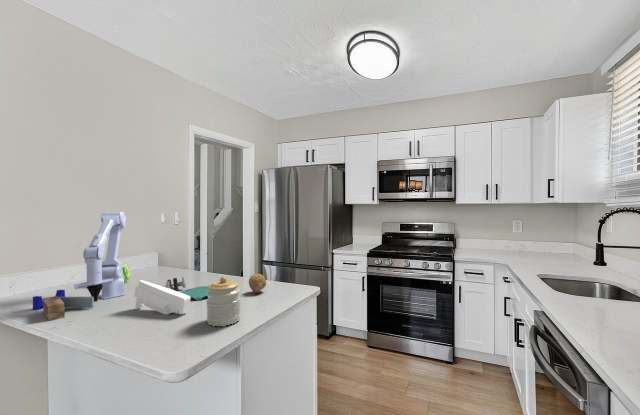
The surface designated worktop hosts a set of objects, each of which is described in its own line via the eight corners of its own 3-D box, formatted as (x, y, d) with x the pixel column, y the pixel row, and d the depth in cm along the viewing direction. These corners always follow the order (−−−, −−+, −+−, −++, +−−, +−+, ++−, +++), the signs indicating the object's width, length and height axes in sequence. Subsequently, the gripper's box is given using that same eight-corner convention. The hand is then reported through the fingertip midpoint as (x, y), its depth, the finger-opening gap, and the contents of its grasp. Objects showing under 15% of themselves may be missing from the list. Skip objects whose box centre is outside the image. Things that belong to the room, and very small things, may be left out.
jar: (221, 330, 110) (221, 282, 110) (199, 323, 117) (198, 278, 117) (247, 318, 121) (247, 275, 121) (226, 312, 128) (225, 271, 128)
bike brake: (189, 287, 166) (167, 289, 175) (188, 275, 166) (165, 277, 175) (166, 294, 154) (144, 295, 163) (165, 281, 154) (142, 283, 163)
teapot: (96, 288, 170) (95, 266, 170) (99, 283, 182) (99, 262, 182) (129, 284, 178) (129, 263, 178) (131, 279, 190) (130, 259, 190)
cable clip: (57, 301, 148) (57, 289, 148) (65, 301, 147) (64, 289, 147) (30, 310, 136) (29, 296, 136) (38, 310, 136) (37, 297, 135)
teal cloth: (170, 298, 151) (170, 293, 151) (216, 284, 177) (216, 280, 177) (197, 304, 142) (197, 299, 142) (242, 288, 168) (241, 283, 168)
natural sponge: (258, 289, 163) (258, 271, 163) (270, 291, 158) (269, 273, 158) (245, 293, 156) (245, 274, 156) (257, 296, 151) (256, 276, 151)
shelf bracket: (142, 307, 138) (146, 278, 137) (188, 325, 130) (193, 295, 129) (130, 311, 133) (134, 282, 132) (177, 331, 124) (182, 299, 123)
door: (62, 306, 138) (62, 296, 138) (95, 306, 137) (94, 296, 137) (58, 308, 136) (58, 297, 136) (92, 307, 136) (92, 297, 136)
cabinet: (58, 309, 136) (57, 295, 136) (64, 317, 126) (64, 303, 126) (43, 312, 133) (43, 298, 132) (48, 321, 122) (48, 306, 122)
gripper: (76, 276, 132) (77, 307, 132) (115, 270, 143) (115, 299, 143) (73, 274, 137) (73, 303, 137) (110, 268, 148) (111, 296, 148)
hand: (95, 301), depth 140 cm, fingers closed
